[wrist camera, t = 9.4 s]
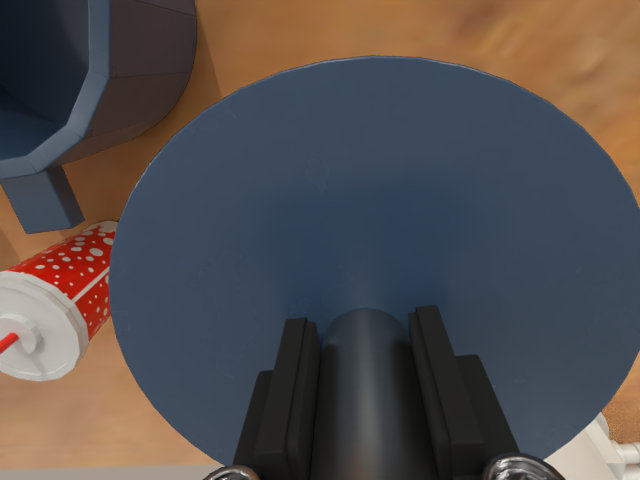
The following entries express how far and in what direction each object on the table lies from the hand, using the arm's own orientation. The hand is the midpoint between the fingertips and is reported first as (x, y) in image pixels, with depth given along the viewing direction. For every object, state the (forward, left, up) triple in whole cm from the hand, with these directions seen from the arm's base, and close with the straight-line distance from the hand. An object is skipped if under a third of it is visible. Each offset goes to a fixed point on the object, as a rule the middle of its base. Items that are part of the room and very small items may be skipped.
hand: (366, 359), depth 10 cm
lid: (0, 0, -1) cm, 1 cm away
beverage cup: (+17, +2, -15) cm, 23 cm away
